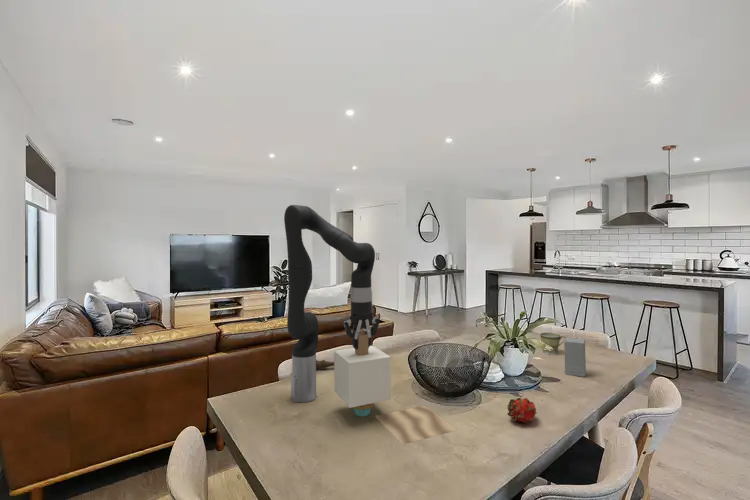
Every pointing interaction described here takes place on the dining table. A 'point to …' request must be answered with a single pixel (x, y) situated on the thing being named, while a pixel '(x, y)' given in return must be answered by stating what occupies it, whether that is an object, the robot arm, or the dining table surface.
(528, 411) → the dragon fruit
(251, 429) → the dining table surface
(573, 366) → the skincare box
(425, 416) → the mat
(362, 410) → the cupcake
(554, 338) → the ceramic cup
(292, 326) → the robot arm
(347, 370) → the white cube with peg
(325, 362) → the kendama
